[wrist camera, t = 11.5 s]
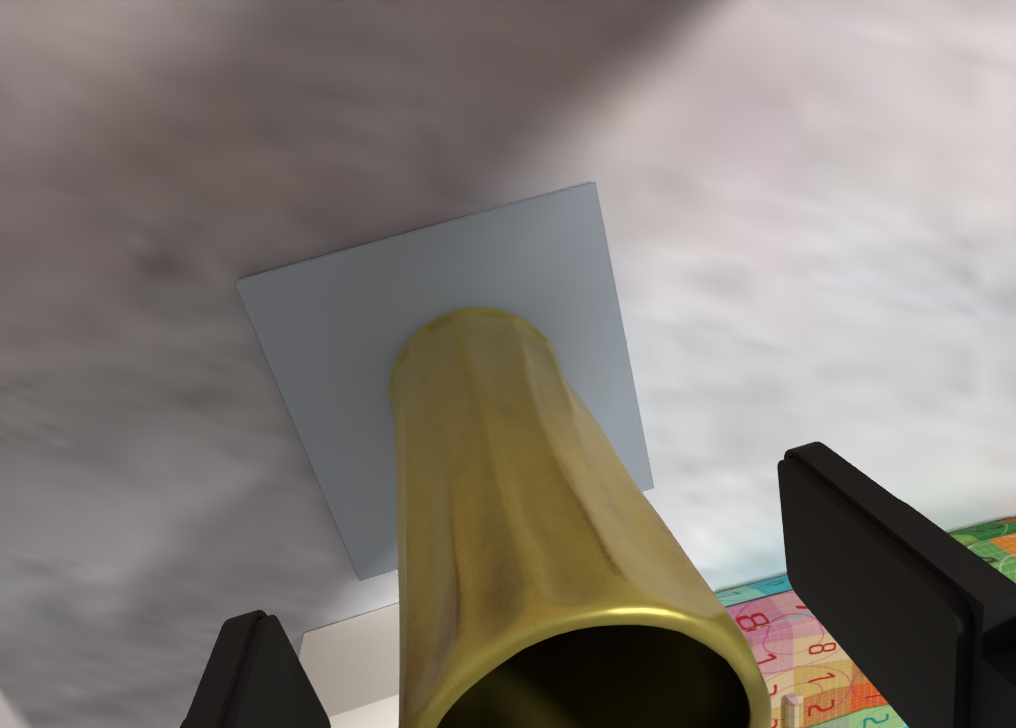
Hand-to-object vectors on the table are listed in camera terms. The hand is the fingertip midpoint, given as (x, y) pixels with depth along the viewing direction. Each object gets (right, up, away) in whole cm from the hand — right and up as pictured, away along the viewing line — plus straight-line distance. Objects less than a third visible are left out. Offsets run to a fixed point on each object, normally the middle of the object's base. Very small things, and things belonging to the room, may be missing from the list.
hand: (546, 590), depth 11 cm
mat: (-2, +3, +11) cm, 12 cm away
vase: (-2, +3, +11) cm, 11 cm away
